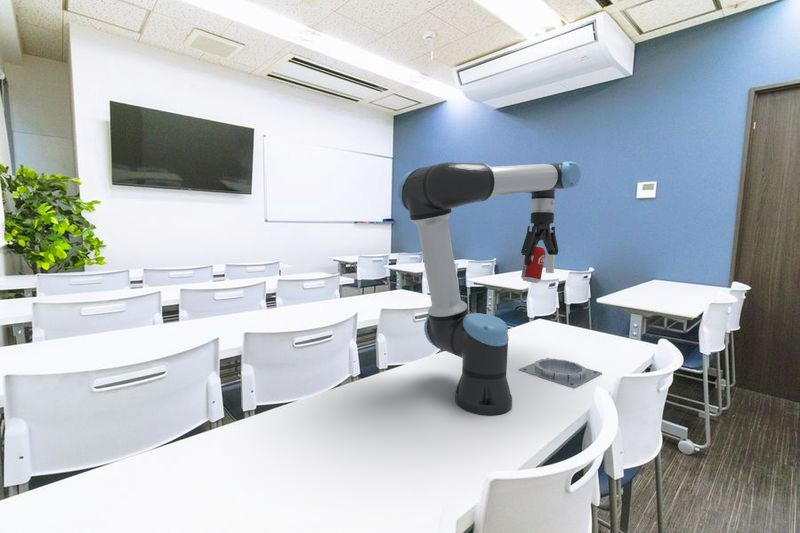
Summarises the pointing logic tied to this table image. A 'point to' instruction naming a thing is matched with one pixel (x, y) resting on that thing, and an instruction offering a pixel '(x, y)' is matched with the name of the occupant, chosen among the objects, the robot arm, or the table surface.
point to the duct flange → (561, 372)
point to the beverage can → (534, 266)
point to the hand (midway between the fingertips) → (539, 274)
